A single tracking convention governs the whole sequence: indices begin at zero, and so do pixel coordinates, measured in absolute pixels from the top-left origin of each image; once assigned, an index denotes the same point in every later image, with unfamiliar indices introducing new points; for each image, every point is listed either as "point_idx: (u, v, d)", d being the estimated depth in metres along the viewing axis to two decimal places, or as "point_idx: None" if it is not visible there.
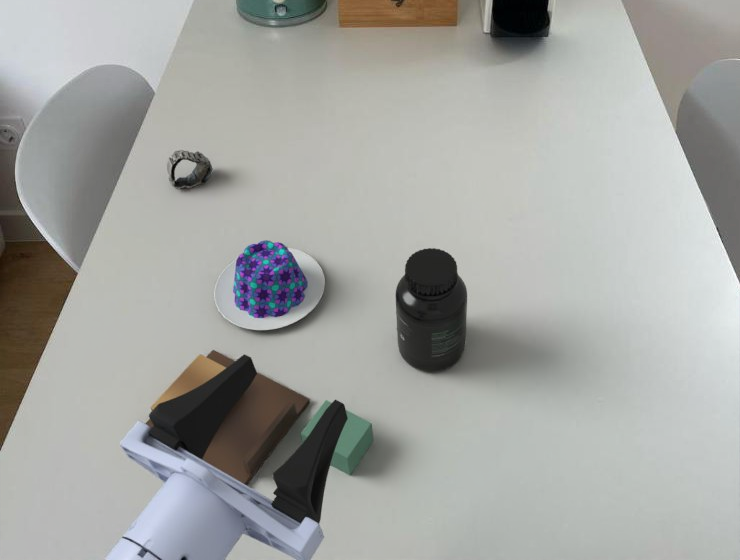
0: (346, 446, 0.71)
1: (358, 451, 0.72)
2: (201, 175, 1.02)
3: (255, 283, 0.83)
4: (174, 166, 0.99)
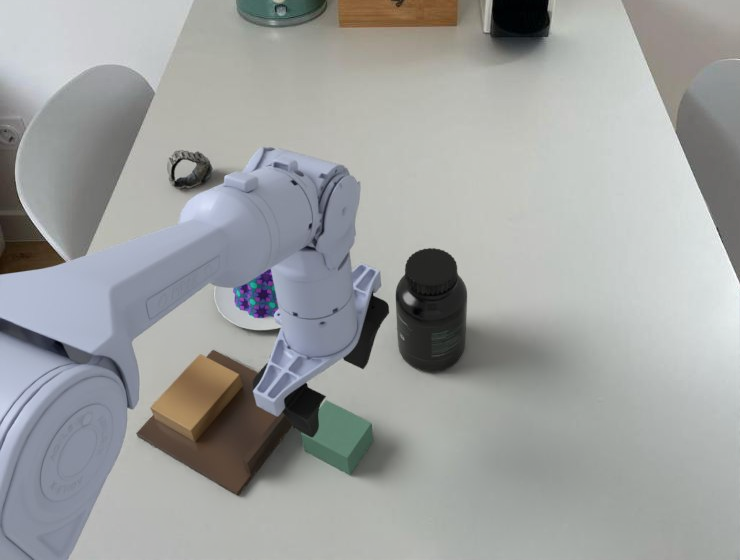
0: (346, 446, 0.71)
1: (358, 451, 0.72)
2: (201, 175, 1.02)
3: (255, 283, 0.83)
4: (174, 166, 0.99)
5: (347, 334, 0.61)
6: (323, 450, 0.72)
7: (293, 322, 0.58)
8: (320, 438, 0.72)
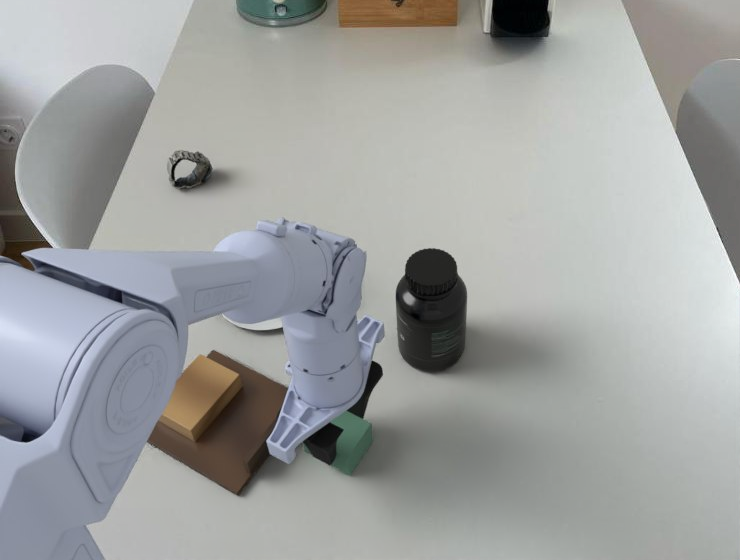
0: (345, 447, 0.71)
1: (358, 452, 0.72)
2: (201, 175, 1.02)
3: None
4: (174, 166, 0.99)
5: (353, 386, 0.65)
6: None
7: (303, 377, 0.63)
8: None
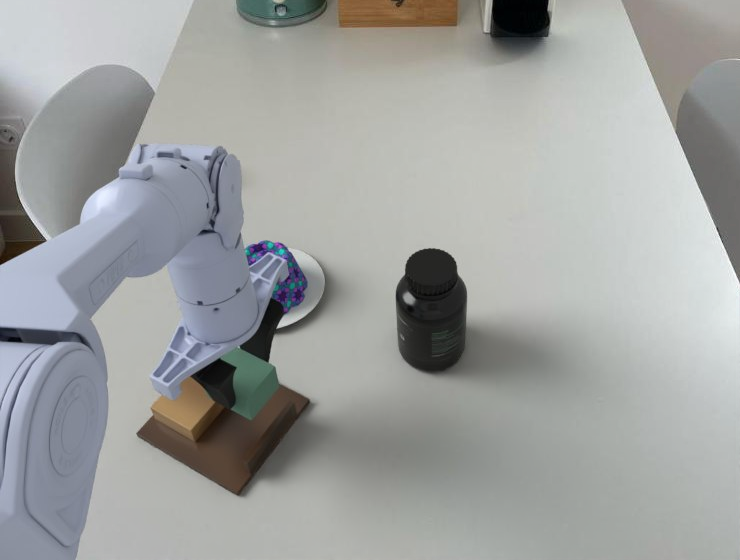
0: (245, 389, 0.68)
1: (260, 395, 0.69)
2: None
3: None
4: None
5: (244, 321, 0.62)
6: None
7: (188, 308, 0.60)
8: None
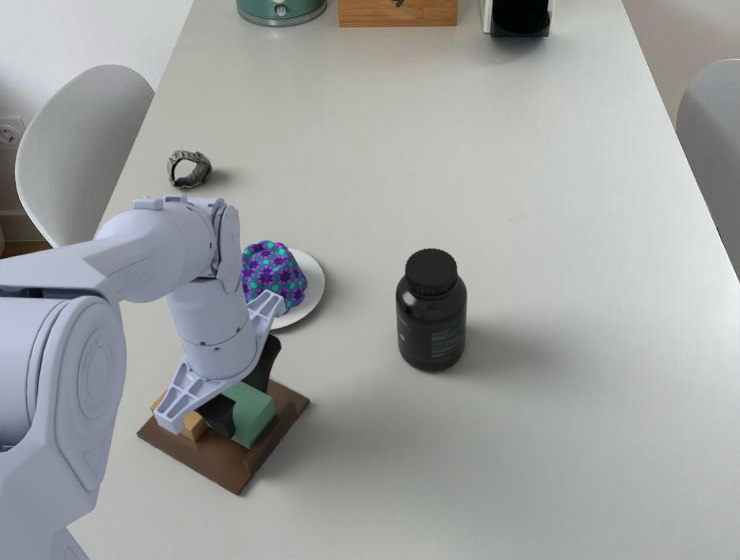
0: (244, 421, 0.71)
1: (258, 426, 0.72)
2: (201, 175, 1.02)
3: (255, 283, 0.83)
4: (174, 166, 0.99)
5: (243, 358, 0.65)
6: None
7: (190, 348, 0.63)
8: None
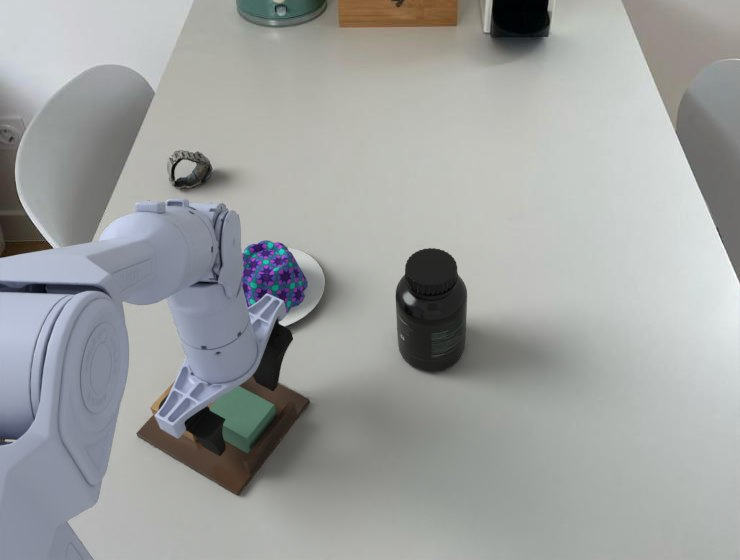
0: (246, 427, 0.72)
1: (260, 432, 0.73)
2: (201, 175, 1.02)
3: (255, 283, 0.83)
4: (174, 166, 0.99)
5: (244, 362, 0.66)
6: (225, 431, 0.73)
7: (191, 352, 0.64)
8: None
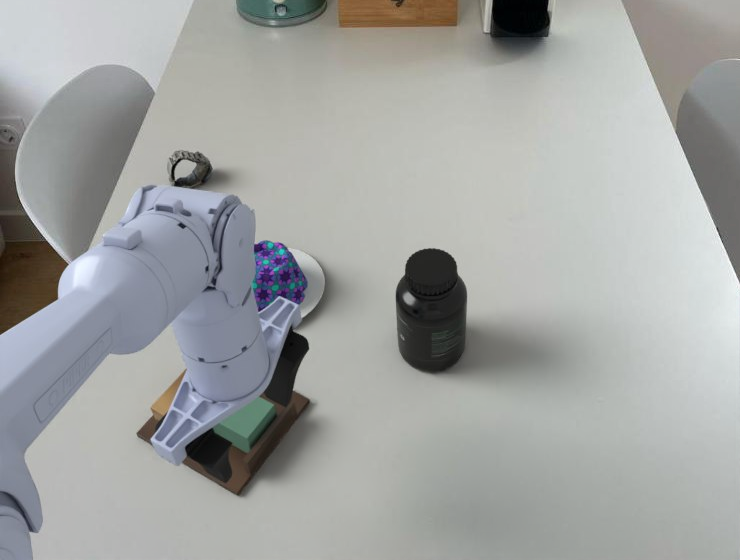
0: (246, 427, 0.72)
1: (260, 432, 0.73)
2: (201, 175, 1.02)
3: (255, 283, 0.83)
4: (174, 166, 0.99)
5: (255, 377, 0.57)
6: (225, 431, 0.73)
7: (193, 365, 0.54)
8: None
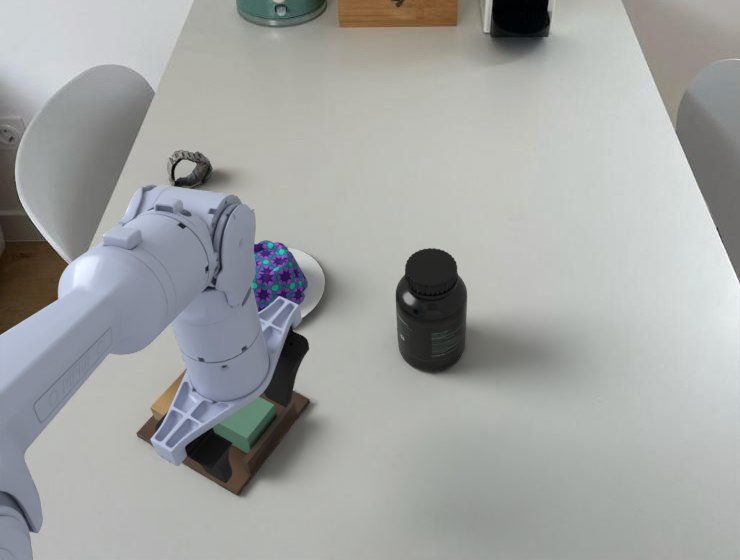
0: (246, 427, 0.72)
1: (260, 432, 0.73)
2: (201, 175, 1.02)
3: (255, 283, 0.83)
4: (174, 166, 0.99)
5: (255, 377, 0.57)
6: (225, 431, 0.73)
7: (193, 365, 0.54)
8: None
